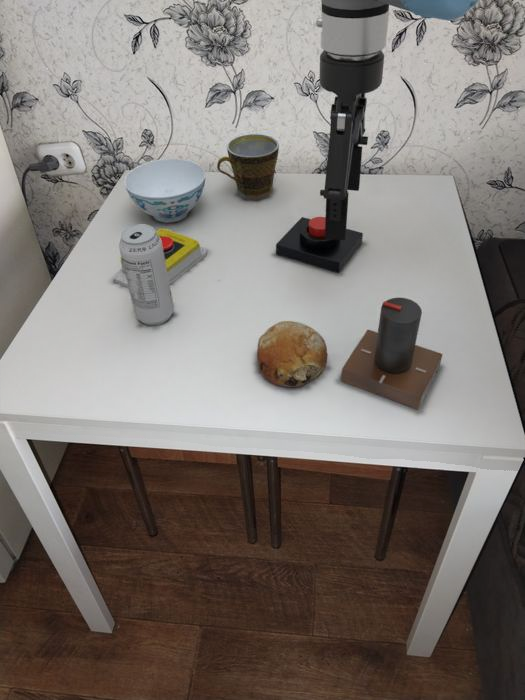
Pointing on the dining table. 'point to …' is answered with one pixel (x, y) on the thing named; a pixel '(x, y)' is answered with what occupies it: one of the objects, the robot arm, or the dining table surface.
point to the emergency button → (173, 255)
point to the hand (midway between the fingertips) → (342, 212)
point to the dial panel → (392, 386)
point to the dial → (397, 335)
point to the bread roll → (291, 354)
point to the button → (317, 227)
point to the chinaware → (166, 187)
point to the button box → (318, 247)
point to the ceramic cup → (252, 164)
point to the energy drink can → (146, 274)
